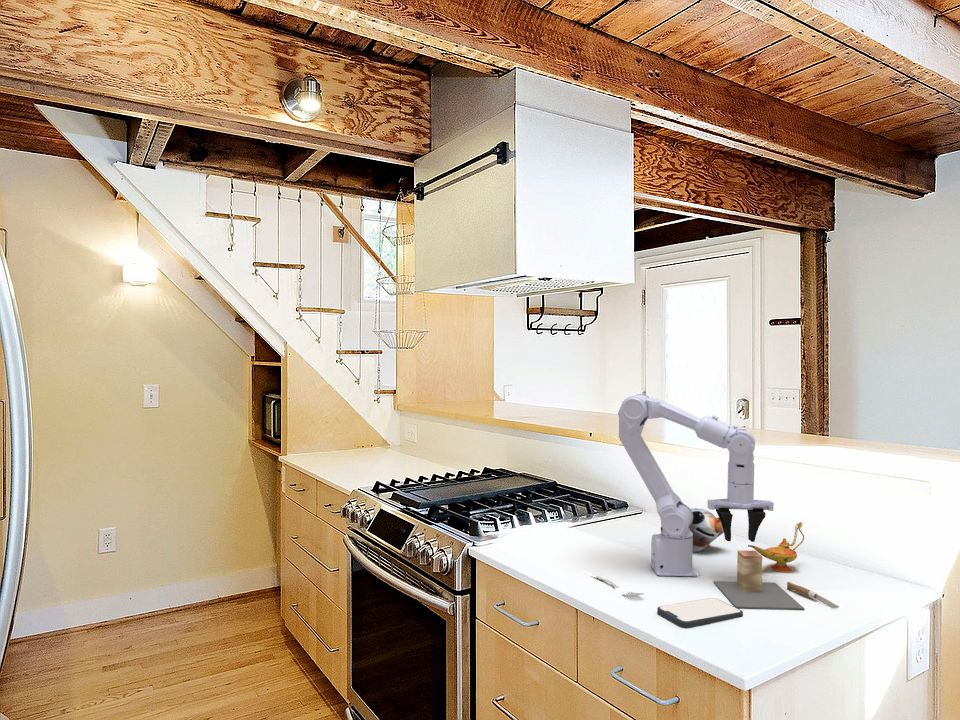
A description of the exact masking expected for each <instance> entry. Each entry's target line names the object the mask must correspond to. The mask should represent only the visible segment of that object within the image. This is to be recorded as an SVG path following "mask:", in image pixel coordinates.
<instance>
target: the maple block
mask: <svg viewBox="0 0 960 720" xmlns="http://www.w3.org/2000/svg"><path fill="white" fill-rule="evenodd" d="M736 557H737V562H736V563H737V566H736V567H737V568H736V569H737V571H736V582H737V586H738V587H739V588H740V589H741V590H742V591H743V592H762V582H763V556H762V555H761V554H760V553H758V552H757V551H756V550H737V556H736Z"/></svg>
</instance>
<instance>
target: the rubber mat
mask: <svg viewBox="0 0 960 720" xmlns="http://www.w3.org/2000/svg"><path fill="white" fill-rule="evenodd" d="M712 583H713V584H714V586H715V587H718V588H717V589H718V590H719V591H720V592H721V593H722V594H723V596H725V598H726V599H727V600H728V601H729V602H730V603H731V606H734V607H736V608H738V609H740V610H742V609H743V610H745V609H747V610H780V611H781V610H787V611H789V610H791V611H805V607H804V606H802V605H801V603H799V602H798V601H797V600H796V599H794V598H793V596H791V595H790V594H789V593H788V592H786V591H785V590H784V589H783V588H782V587H781V586H780V585H779V584H778V583H776V582H771V581H770V582H769V581H767V582H766V581H764V582H763V581H762V592H743V591H742V590H741V589H740V588H739V587H738V586H737V581H725V580H723V581H722V580H721V581H720V580H718V581H717V580H716V581H715V580H713V581H712Z"/></svg>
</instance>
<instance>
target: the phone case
mask: <svg viewBox="0 0 960 720" xmlns="http://www.w3.org/2000/svg"><path fill="white" fill-rule="evenodd" d="M656 613H657V615H659V616H660V617H661V618H663V619H665V620H667V621H669V622H670V623H673V624H674V625H676V626H677V627H679V628H680V629H681V628H682V629H691V628H695V627H699V626H700V627H701V626H705V625H710V624H715V623H719V622H725V621H729V620H735V619H738V618H743V617H744V611H743V610H742V609H738V608H736V607H734V606H733V605H732V604H729V603H728V602H725V601H723V600H721V599H719V598H714V597H710V598H704V599H697V600H691V601H690V600H689V601H685V602H679V603H672V604H666V605H660V606H657V612H656ZM734 618H735V619H734Z"/></svg>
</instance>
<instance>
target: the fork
mask: <svg viewBox="0 0 960 720" xmlns="http://www.w3.org/2000/svg"><path fill="white" fill-rule="evenodd" d="M597 578H598V580H601V581H603V582H607V583H609V584H610V585H611V586H612V587H613V588H619V587H620V586H618V585H617V584H616V583H614V582H613V581H611V580H608V579H605V578H603V577H601V576H599V575H597V576H596V578H595V579H597ZM621 594H622V593H621ZM623 595H624V597H636V596H641V595H645V593H643V592H640V593H639V592H632V591H630V592H628V594H627V593H626V595H625V594H622V595H621V596H623Z"/></svg>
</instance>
